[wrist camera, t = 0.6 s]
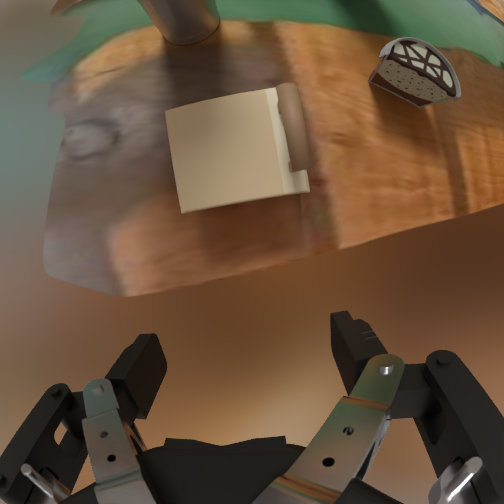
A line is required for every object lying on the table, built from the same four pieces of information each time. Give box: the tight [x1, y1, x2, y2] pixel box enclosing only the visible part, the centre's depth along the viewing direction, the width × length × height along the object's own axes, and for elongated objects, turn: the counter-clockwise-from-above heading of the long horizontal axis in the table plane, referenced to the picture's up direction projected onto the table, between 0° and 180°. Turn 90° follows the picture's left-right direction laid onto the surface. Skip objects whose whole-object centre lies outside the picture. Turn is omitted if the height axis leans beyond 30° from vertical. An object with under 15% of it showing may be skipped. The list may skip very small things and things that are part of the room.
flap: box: [165, 83, 313, 212], centre depth 24 cm, size 12×14×7 cm
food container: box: [368, 37, 461, 108], centre depth 26 cm, size 12×6×10 cm, turn 74°
